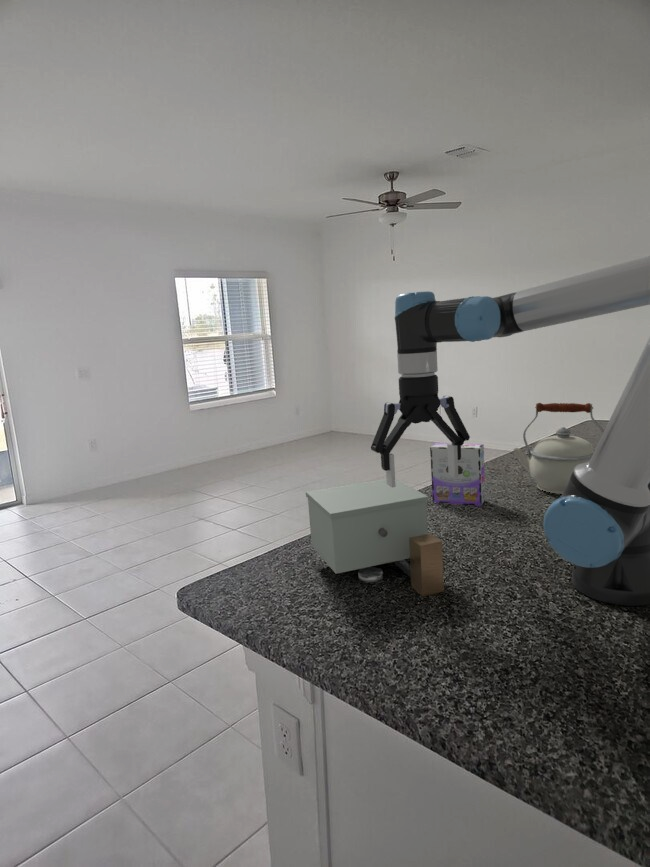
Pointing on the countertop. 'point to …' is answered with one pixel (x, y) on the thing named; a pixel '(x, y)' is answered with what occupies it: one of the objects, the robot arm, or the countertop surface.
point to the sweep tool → (424, 564)
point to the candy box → (469, 479)
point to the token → (370, 574)
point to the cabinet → (365, 523)
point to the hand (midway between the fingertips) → (422, 481)
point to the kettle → (556, 451)
